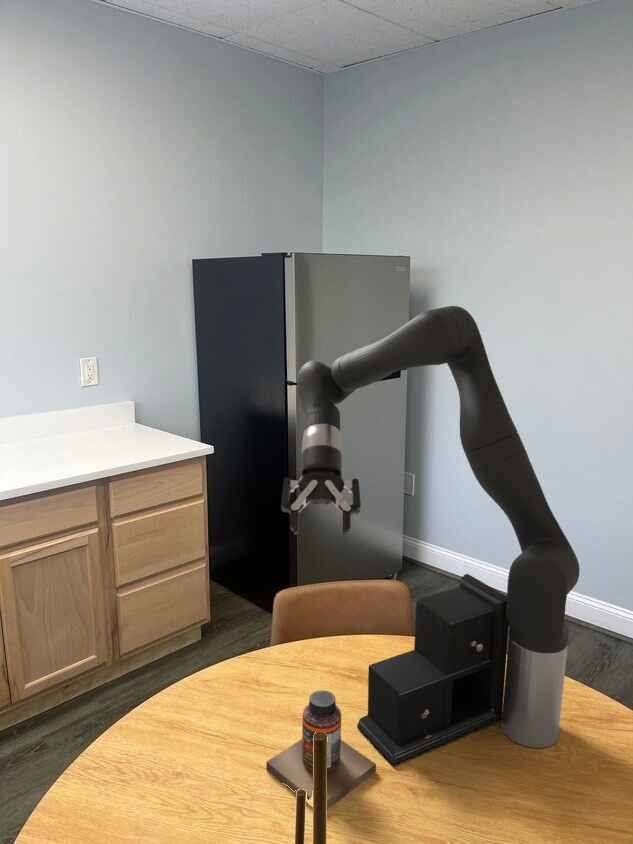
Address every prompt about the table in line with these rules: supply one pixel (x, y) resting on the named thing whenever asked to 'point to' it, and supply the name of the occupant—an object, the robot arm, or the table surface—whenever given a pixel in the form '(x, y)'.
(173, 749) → the table surface
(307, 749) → the supplement bottle
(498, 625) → the black drawer cabinet
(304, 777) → the brown flat square block
